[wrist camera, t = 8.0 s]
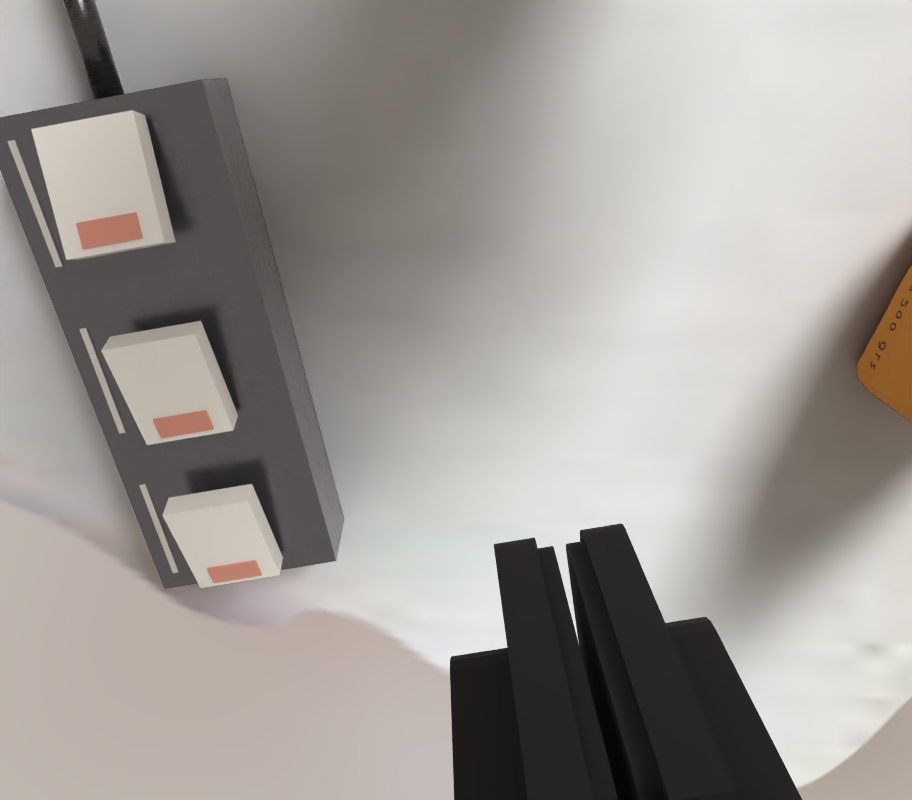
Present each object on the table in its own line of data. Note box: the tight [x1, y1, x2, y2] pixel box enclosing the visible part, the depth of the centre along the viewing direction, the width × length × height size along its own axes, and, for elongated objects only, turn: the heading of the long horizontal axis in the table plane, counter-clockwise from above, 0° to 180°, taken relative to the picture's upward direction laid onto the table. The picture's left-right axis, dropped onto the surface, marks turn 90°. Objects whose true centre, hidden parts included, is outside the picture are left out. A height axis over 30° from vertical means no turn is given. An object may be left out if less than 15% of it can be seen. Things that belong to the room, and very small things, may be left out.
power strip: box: [0, 0, 344, 589], centre depth 35 cm, size 29×9×5 cm, turn 10°
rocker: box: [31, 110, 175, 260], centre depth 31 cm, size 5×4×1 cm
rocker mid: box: [101, 321, 238, 445], centre depth 34 cm, size 5×4×1 cm
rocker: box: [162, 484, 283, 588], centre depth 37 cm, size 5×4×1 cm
